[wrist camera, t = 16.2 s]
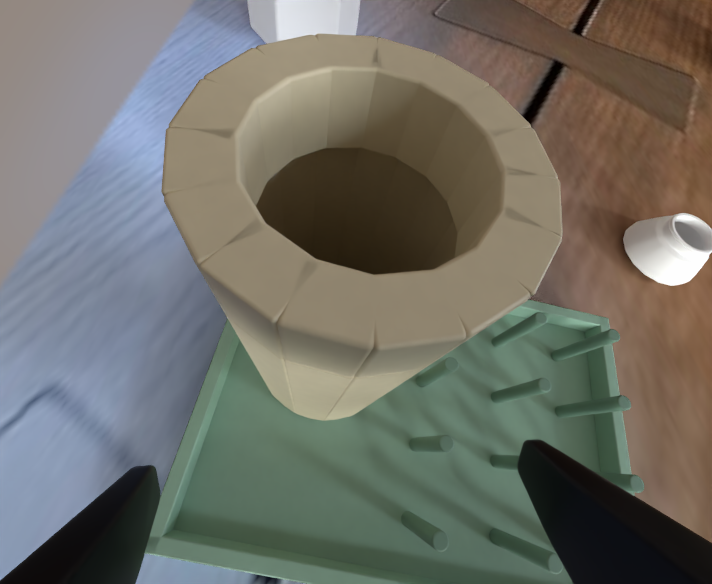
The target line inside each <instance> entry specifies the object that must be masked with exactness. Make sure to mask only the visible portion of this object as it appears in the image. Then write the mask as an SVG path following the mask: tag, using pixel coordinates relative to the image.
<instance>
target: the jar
mask: <svg viewBox="0 0 712 584" xmlns="http://www.w3.org/2000/svg"><path fill="white" fill-rule="evenodd" d="M247 3H248V11H249V19H250V26H251V28H252V29H253V30H254V31H255V32H256V33H257V34H258V35H259V37H260V38H261V39H262V40H263V41H264V42H265V43H266V44H268V43H273V42H278V41H283V40H287V39H292V38H297V37H301V36H306V35H314V36H315V35H316V34H318V33H319V34H338V35H356V32H357V24H358V16H359V8H360V0H247Z"/></svg>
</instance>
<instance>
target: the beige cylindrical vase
mask: <svg viewBox="0 0 712 584" xmlns="http://www.w3.org/2000/svg"><path fill="white" fill-rule="evenodd" d="M162 194H163V196H164V202H165V204H166V206H167V208H168V210H169V212H170V214H171V216H172V218H173V220H174V222H175V224H176V226H177V228H178V230H179V232H180V234H181V236H182V238H183V240H184V242H185V244H186V246H187V248H188V250H189V252H190V254H191V256H192V258H193V260H194V262H195V263H196V265H197V267H198V269H199V270H200V272H201V274H202V275H203V277H204V279H205V280H206V282H207V284H208V286H209V287H210V289H211V291H212V292H213V294H214V296H215V298H216V299H217V301H218V303H219V304H220V306H221V308H222V310H223V311H224V313H225V315H226V317H227V318H228V320H229V322H230V323H231V325H232V327H233V329H234V330H235V332H236V334H237V335H238V337H239V339H240V341H241V342H242V344H243V346H244V347H245V349H246V351H247V352H248V354H249V356H250V358H251V359H252V361H253V363H254V364H255V366H256V368H257V370H258V371H259V373H260V375H261V376H262V378H263V380H264V382H265V383H266V385H267V387H268V388H269V390H270V392H271V393H272V395H273V396H274V397H275V398H276V399H277V400H279V401H280V402H281V403H282V404H283V405H284V406H285V407H287V408H288V409H290V410H291V411H293V412H294V413H296V414H298V415H301V416H304V417H307V418H310V419H316V420H322V421H323V420H324V421H326V420H337V419H341V418H345V417H350V416H352V415H354V414H356V413H358V412H359V411H361V410H362V409H364V408H365V407H367V406H368V405H370V404H371V403H373V402H374V401H376V400H377V399H379V398H380V397H382V396H383V395H385V394H386V393H388V392H390V391H391V390H393V389H394V388H396V387H397V386H399V385H400V384H402V383H403V382H405V381H406V380H408V379H409V378H411V377H412V376H414V375H415V374H417V373H418V372H420V371H421V370H423V369H424V368H426V367H428V366H429V365H431V364H432V363H434V362H435V361H437V360H438V359H440V358H441V357H443V356H444V355H446V354H447V353H449V352H450V351H452V350H453V349H455V348H456V347H458V346H459V345H461V344H463V343H464V342H466V341H467V340H469V339H470V338H472V337H473V336H475V335H476V334H478V333H479V332H481V331H482V330H484V329H485V328H487V327H488V326H490V325H491V324H493V323H494V322H496V321H497V320H499V319H501V318H502V317H504V316H505V315H507V314H508V313H510V312H511V311H513V310H514V309H516V308H517V307H519V306H520V305H522V304H523V303H525V302H526V301H528V299H529V298H530V297H531V296H533V295H534V294H535V293H536V291H537V289H538V287H539V285H540V283H541V281H542V279H543V277H544V275H545V273H546V271H547V269H548V267H549V265H550V263H551V261H552V259H553V257H554V255H555V253H556V251H557V249H558V247H559V245H560V243H561V241H562V238H561V237H562V235H563V233H562V213H561V193H560V181H559V180H558V176H557V174H556V172H555V170H554V168H553V166H552V164H551V162H550V160H549V158H548V156H547V154H546V152H545V150H544V148H543V146H542V144H541V142H540V140H539V138H538V136H537V134H536V132H535V130H534V129H532V128H531V125H530V124H529V123H528V122H527V121H526V120H525V119H524V118H523V117H522V116H521V115H520V114H519V113H518V112H517V111H516V110H515V109H514V108H513V107H512V106H511V105H510V104H509V103H508V102H507V101H506V100H505V99H504V98H503V97H502V96H501V95H500V94H499V93H498V92H497V91H496V90H495V89H494V88H493V87H491V86H489V84H488V83H487V82H485V81H483V80H481V79H480V78H478V77H476V76H474V75H473V74H471V73H469V72H467V71H466V70H464V69H462V68H460V67H459V66H457V65H455V64H453V63H452V62H450V61H448V60H446V59H445V58H443V57H441V56H439V55H435V54H434V53H431V52H428V51H425V50H421V49H418V48H414V47H411V46H408V45H404V44H401V43H397V42H394V41H391V40H387V39H384V38H380V37H379V38H376V37H374V36H357V35H338V34H319V33H318V34H316V35H315V36H314V35H306V36H301V37H297V38H292V39H287V40H283V41H278V42H273V43H268V44H264V45H259V46H257V47H256V49H255V48H251V49H249V50H247V51H246V52H244V53H242V54H240V55H239V56H237V57H235V58H234V59H232V60H230V61H229V62H227V63H225V64H224V65H222V66H220V67H218V68H217V69H215V70H213V71H212V72H210V73H208V74H207V75H205V76H204V79H201V80H199V82H198V83H197V85H196V86H195V87H194V89H193V90H192V92H191V93H190V95H189V96H188V98H187V99H186V100H185V102H184V103H183V105H182V106H181V108H180V109H179V110H178V112H177V113H176V115H175V116H174V118H173V119H172V121H171V122H170V123H169V128H168V129H166V137H165V151H164V165H163V179H162Z"/></svg>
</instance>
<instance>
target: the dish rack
mask: <svg viewBox="0 0 712 584" xmlns="http://www.w3.org/2000/svg"><path fill="white" fill-rule="evenodd" d="M619 339H620V335H619V333H618V332H617V331H616V330H614V329H610V326H609V319H608V318H605V317H601V316H597V315H593V314H588V313H584V312H580V311H575V310H571V309H567V308H563V307H558V306H554V305H550V304H546V303H541V302H537V301H533V300H529V299H528V301H526V302H525V303H523V304H522V305H520V306H519V307H517V308H516V309H514V310H513V311H511V312H510V313H508V314H507V315H505V316H504V317H502V318H501V319H499V320H497V321H496V322H494V323H493V324H491V325H490V326H488V327H487V328H485V329H484V330H482V331H481V332H479V333H478V334H476V335H475V336H473V337H472V338H470V339H469V340H467V341H466V342H464V343H463V344H461V345H459V346H458V347H456V348H455V349H453V350H452V351H450V352H449V353H447V354H446V355H444V356H443V357H441V358H440V359H438V360H437V361H435V362H434V363H432V364H431V365H429V366H428V367H426V368H424V369H423V370H421V371H420V372H418V373H417V374H415V375H414V376H412V377H411V378H409V379H408V380H406V381H405V382H403V383H402V384H400V385H399V386H397V387H396V388H394V389H393V390H391V391H390V392H388V393H386V394H385V395H383V396H382V397H380V398H379V399H377V400H376V401H374V402H373V403H371V404H370V405H368V406H367V407H365V408H364V409H362V410H361V411H359V412H358V413H356V414H354V415H352V416H350V417H345V418H341V419H337V420H326V421H324V420H323V421H322V420H316V419H310V418H307V417H304V416H301V415H298V414H296V413H294V412H293V411H291V410H290V409H288V408H287V407H285V406H284V405H283V404H282V403H281V402H280V401H279V400H277V399H276V398H275V397H274V396H273V395H272V393H271V392H270V390H269V388H268V387H267V385H266V383H265V382H264V380H263V378H262V376H261V375H260V373H259V371H258V370H257V368H256V366H255V364H254V363H253V361H252V359H251V358H250V356H249V354H248V352H247V351H246V349H245V347H244V346H243V344H242V342H241V341H240V339H239V337H238V335H237V334H236V332H235V330H234V329H233V327H232V325H231V323H230V322H229V320H228V318H227V321H226V324H225V326H224V329H223V332H222V334H221V337H220V340H219V342H218V345H217V348H216V350H215V353H214V356H213V358H212V361H211V364H210V366H209V369H208V372H207V374H206V377H205V379H204V382H203V385H202V387H201V390H200V393H199V395H198V398H197V401H196V403H195V406H194V409H193V411H192V414H191V417H190V419H189V422H188V425H187V427H186V430H185V433H184V435H183V438H182V441H181V443H180V446H179V449H178V451H177V454H176V457H175V459H174V462H173V465H172V467H171V470H170V473H169V475H168V478H167V481H166V483H165V486H164V489H163V491H162V494H161V497H160V501H159V505H158V509H157V512H156V516H155V519H154V522H153V526H152V529H151V533H150V536H149V540H148V543H147V547H146V550H145V554H151V555H156V556H161V557H167V558H172V559H178V560H183V561H188V562H194V563H199V564H204V565H210V566H215V567H220V568H226V569H231V570H236V571H242V572H247V573H252V574H258V575H263V576H268V577H274V578H279V579H284V580H290V581H295V582H301V583H306V584H573V582H572V580H571V578H570V577H569V575H568V573H567V571H566V569H565V568H564V566H563V564H562V562H561V560H560V559H559V557H558V555H557V553H556V551H555V550H554V548H553V546H552V544H551V542H550V540H549V538H548V536H547V534H546V532H545V530H544V528H543V526H542V524H541V522H540V520H539V517H538V515H537V513H536V511H535V509H534V506H533V504H532V502H531V500H530V498H529V495H528V493H527V491H526V489H525V486H524V484H523V482H522V480H521V478H520V475H519V473H518V469H517V462H518V459H519V455H520V452H521V448H522V445H523V442H524V441H525V440H532V439H540V440H543V441H545V442H546V443H548V444H550V445H551V446H553V447H554V448H556V449H558V450H559V451H561V452H563V453H564V454H566V455H568V456H569V457H571V458H573V459H574V460H576V461H577V462H579V463H581V464H582V465H584V466H586V467H587V468H589V469H591V470H592V471H594V472H596V473H597V474H599V475H601V476H602V477H604V478H605V479H607V480H609V481H610V482H612V483H614V484H615V485H617V486H619V487H620V488H622V489H624V490H625V491H627V492H628V493H630V494H632V495H633V496H635V494H634V492H637V493H640V492H642V491H643V490H644V483H643V481H642V479H641V478H640V477H638V476H637V475H632V474H631V468H630V461H629V454H628V447H627V441H626V434H625V427H624V421H623V414H622V411H625V410H629V409H630V407H631V403H630V401H629V399H628V398H627V397H625V396H623V395H620V394H619V387H618V380H617V374H616V367H615V360H614V354H613V347H612V343H614V342H617V341H619Z"/></svg>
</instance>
